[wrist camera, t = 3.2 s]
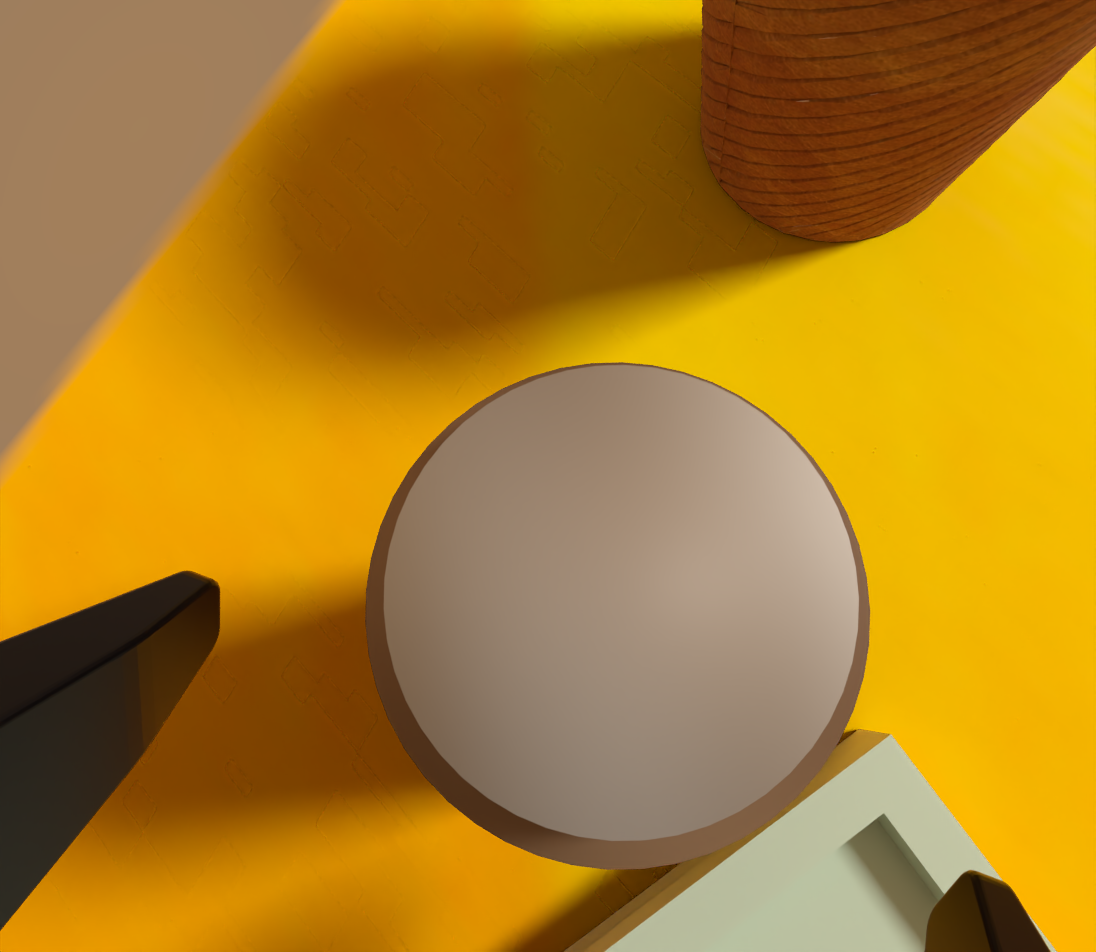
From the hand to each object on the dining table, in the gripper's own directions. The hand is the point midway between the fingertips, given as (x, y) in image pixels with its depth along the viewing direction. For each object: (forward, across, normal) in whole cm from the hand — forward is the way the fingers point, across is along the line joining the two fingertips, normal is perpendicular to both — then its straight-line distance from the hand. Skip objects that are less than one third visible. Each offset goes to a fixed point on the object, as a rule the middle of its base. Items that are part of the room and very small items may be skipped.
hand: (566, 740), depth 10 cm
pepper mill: (+7, 0, +5) cm, 9 cm away
